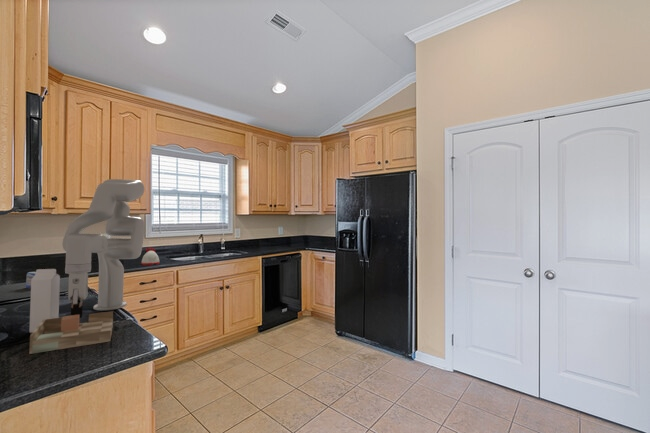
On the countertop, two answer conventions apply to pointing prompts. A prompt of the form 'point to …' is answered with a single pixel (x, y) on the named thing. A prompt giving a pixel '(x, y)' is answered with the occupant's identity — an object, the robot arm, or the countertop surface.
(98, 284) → the robot arm
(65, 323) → the block
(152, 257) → the kitchen timer
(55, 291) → the milk
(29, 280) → the medicine box
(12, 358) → the countertop surface
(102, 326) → the wooden cubby shelf
